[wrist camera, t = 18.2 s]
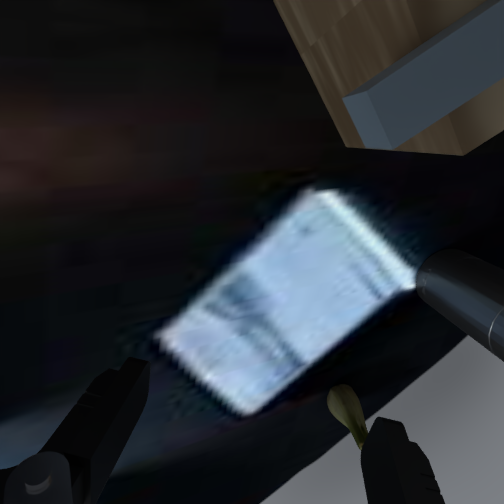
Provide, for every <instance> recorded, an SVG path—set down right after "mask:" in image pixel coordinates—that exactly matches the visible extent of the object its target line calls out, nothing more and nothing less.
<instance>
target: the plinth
mask: <svg viewBox="0 0 504 504" xmlns="http://www.w3.org/2000/svg"><path fill="white" fill-rule="evenodd" d="M273 1H274V3H275V5H276V7H277V9H278V11H279V13H280V15H281V17H282V19H283V21H284V23H285V25H286V27H287V29H288V31H289V33H290V35H291V37H292V39H293V41H294V43H295V45H296V47H297V49H298V51H299V53H300V55H301V57H302V59H303V61H304V63H305V65H306V67H307V69H308V71H309V73H310V75H311V77H312V79H313V81H314V83H315V85H316V87H317V89H318V91H319V93H320V95H321V97H322V99H323V101H324V103H325V105H326V107H327V109H328V111H329V113H330V115H331V117H332V119H333V121H334V123H335V125H336V127H337V129H338V131H339V133H340V135H341V137H342V139H343V141H344V143H345V145H346V147H354V148H365V145H364V143H363V141H362V139H361V137H360V135H359V133H358V131H357V129H356V127H355V125H354V123H353V121H352V118H351V116H350V114H349V112H348V110H347V108H346V106H345V104H344V102H343V100H342V98H343V97H345V96H346V95H348V94H349V93H350V92H352V91H353V90H355V89H356V88H358V87H359V86H361V85H362V84H364V83H365V82H367V81H368V80H370V79H371V78H373V77H374V76H376V75H377V74H379V73H380V72H382V71H383V70H385V69H386V68H387V67H389V66H390V65H392V64H393V63H395V62H396V61H398V60H399V59H401V58H402V57H404V56H405V55H407V54H408V53H410V52H411V51H413V50H414V49H416V48H417V47H419V46H420V45H422V44H423V43H424V42H426V41H427V40H429V39H430V38H432V37H433V36H435V35H436V34H438V33H439V32H441V31H442V30H444V29H445V28H447V27H448V26H450V25H451V24H453V23H454V22H456V21H457V20H459V19H460V18H461V17H463V16H464V15H466V14H467V13H469V12H470V11H472V10H473V9H475V8H476V7H478V6H479V5H481V4H482V3H484V2H485V1H487V0H273ZM503 130H504V78H502V79H501V80H499V81H498V82H496V83H495V84H493V85H492V86H490V87H488V88H487V89H485V90H484V91H482V92H481V93H479V94H478V95H476V96H475V97H473V98H472V99H470V100H469V101H467V102H465V103H464V104H462V105H461V106H459V107H458V108H456V109H455V110H453V111H452V112H450V113H449V114H447V115H446V116H444V117H442V118H441V119H439V120H438V121H436V122H435V123H433V124H432V125H430V126H429V127H427V128H426V129H424V130H422V131H421V132H419V133H418V134H416V135H415V136H413V137H412V138H410V139H409V140H407V141H406V142H404V143H403V144H401V145H399V146H398V147H396V148H395V149H393V150H395V151H409V152H423V153H437V154H451V155H465V154H466V153H468V152H470V151H471V150H473V149H474V148H476V147H477V146H479V145H481V144H482V143H484V142H485V141H487V140H488V139H490V138H492V137H493V136H495V135H496V134H498V133H500V132H501V131H503ZM368 149H375V148H368ZM382 150H390V149H382Z"/></svg>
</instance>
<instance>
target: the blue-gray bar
mask: <svg viewBox="0 0 504 504" xmlns="http://www.w3.org/2000/svg"><path fill="white" fill-rule="evenodd" d="M502 78H504V0H487V1H485V2H484V3H482V4H481V5H479V6H478V7H476V8H475V9H473V10H472V11H470V12H469V13H467V14H466V15H464V16H463V17H461V18H460V19H459V20H457V21H456V22H454V23H453V24H451V25H450V26H448V27H447V28H445V29H444V30H442V31H441V32H439V33H438V34H436V35H435V36H433V37H432V38H430V39H429V40H427V41H426V42H424V43H423V44H422V45H420V46H419V47H417V48H416V49H414V50H413V51H411V52H410V53H408V54H407V55H405V56H404V57H402V58H401V59H399V60H398V61H396V62H395V63H393V64H392V65H390V66H389V67H387V68H386V69H385V70H383V71H382V72H380V73H379V74H377V75H376V76H374V77H373V78H371V79H370V80H368V81H367V82H365V83H364V84H362V85H361V86H359V87H358V88H356V89H355V90H353V91H352V92H350V93H349V94H348V95H346V96H345V97H343V98H342V100H343V102H344V104H345V106H346V108H347V110H348V112H349V114H350V116H351V118H352V121H353V123H354V125H355V127H356V129H357V131H358V133H359V135H360V137H361V139H362V141H363V143H364V145H365V148H375V149H390V150H393V149H395V148H396V147H398V146H399V145H401V144H403V143H404V142H406V141H407V140H409V139H410V138H412V137H413V136H415V135H416V134H418V133H419V132H421V131H422V130H424V129H426V128H427V127H429V126H430V125H432V124H433V123H435V122H436V121H438V120H439V119H441V118H442V117H444V116H446V115H447V114H449V113H450V112H452V111H453V110H455V109H456V108H458V107H459V106H461V105H462V104H464V103H465V102H467V101H469V100H470V99H472V98H473V97H475V96H476V95H478V94H479V93H481V92H482V91H484V90H485V89H487V88H488V87H490V86H492V85H493V84H495V83H496V82H498V81H499V80H501V79H502Z"/></svg>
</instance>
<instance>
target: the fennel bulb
mask: <svg viewBox="0 0 504 504" xmlns="http://www.w3.org/2000/svg"><path fill="white" fill-rule="evenodd" d="M327 404H328V407H329V410H330V411H331V413H332V414H333V415H334V416H335V417H336V418H337V419H338V420H339V421H340V422H341V423H343V424H344V425H345V426H347V427H348V428H349V430H350V431H351V433H352V435H353V437H354V439H355V441H356V443H357V445H358V447H359V449H360V450H362V446H363V444H364V442H365V440H366V438H367V435H368V431H367V428H366V424H365V420H364V416H363V412H362V408H361V405H360V402H359V399H358V397H357V395H356V394H355V392H354V391H353V389H352V387H350V386H349V385H347V384H339V385H336V386H334V387H332V388H331V389H330V391H329V393H328V396H327Z"/></svg>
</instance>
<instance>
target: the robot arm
mask: <svg viewBox="0 0 504 504" xmlns="http://www.w3.org/2000/svg"><path fill="white" fill-rule="evenodd" d="M416 289H417V293H418V294H419V296H420V297H421V298H422V299H423V300H424V301H425V302H426V303H427V304H429V305H430V306H431V307H433V308H434V309H435V310H437V311H438V312H439V313H440V314H442V315H443V316H444V317H446V318H447V319H448V320H449V321H451V322H452V323H453V324H455V325H456V326H457V327H459V328H460V329H461V330H463V331H464V332H465V333H467V334H468V335H469V336H470V337H472V338H473V339H474V340H476V341H477V342H478V343H480V344H481V345H482V346H484V347H485V348H486V349H488V350H489V351H490V352H491V353H493V354H494V355H495V356H497V357H498V358H499V359H501V360H502V361H503V362H504V270H503V269H501V268H499V267H496V266H494V265H492V264H490V263H488V262H485V261H483V260H481V259H479V258H477V257H475V256H472V255H470V254H468V253H466V252H463V251H461V250H458V249H445V250H441V251H439V252H437V253H435V254H433V255H432V256H430V257H429V258H428V259H427V260H426V261H425V262H424V263H423V264H422V266H421V268H420V269H419V271H418V274H417V277H416ZM150 370H151V362H149V361H145V360H141V359H137V358H133V357H129V358H128V359H127V360H126V361H125V362H124V364H123V365H122V367H121V368H120V370H119V371H117V370H113V369H108V370H106V371H105V372H103V373H102V374H100V375H99V376H98V377H96V378H95V379H94V380H93V382H92V383H91V384H90V386H89V387H88V388H87V390H86V391H85V393H84V394H83V395H82V396H81V397H80V399H79V400H78V401H77V404H76V405H74V407H73V408H72V409H71V411H70V412H69V413H68V415H67V416H66V417H65V419H64V420H63V421H62V423H61V424H60V425H59V427H58V428H57V429H56V431H55V432H54V433H53V435H52V436H51V437H50V439H49V440H48V441H47V443H46V444H45V445H44V446H43V448H42V449H41V450H40V451H39V452H38V453H37V454H35V455H32V456H30V457H29V458H27V459H25V460H24V461H22V462H21V463H20V464H19V465H17V466H14V467H11V468H7V469H0V504H96V502H97V500H98V498H99V496H100V494H101V492H102V490H103V488H104V486H105V484H106V482H107V480H108V478H109V476H110V474H111V472H112V470H113V468H114V466H115V465H116V463H117V461H118V459H119V457H120V455H121V453H122V451H123V449H124V447H125V445H126V443H127V441H128V439H129V437H130V435H131V433H132V431H133V429H134V427H135V425H136V423H137V422H138V420H139V418H140V416H141V414H142V412H143V409H144V407H145V404H146V401H147V397H148V392H149V381H150ZM361 468H362V473H363V478H364V484H365V489H366V495H367V500H368V504H445V502H444V499H443V497H442V495H441V494H440V489H439V486H438V483H437V481H436V480H435V476H434V473H433V470H432V468H431V465H430V462H429V460H428V458H427V457H426V455H425V454H424V453H423V451H422V450H421V449H420V447H419V446H418V444H417V443H415V442H411V441H409V439H408V436H407V433H406V430H405V427H404V425H403V424H402V423H401V422H399V421H395V420H391V419H387V418H383V417H377V418H376V419H375V421H374V423H373V425H372V427H371V429H370V431H369V433H368V435H367V438H366V440H365V442H364V444H363V446H362V450H361Z"/></svg>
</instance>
